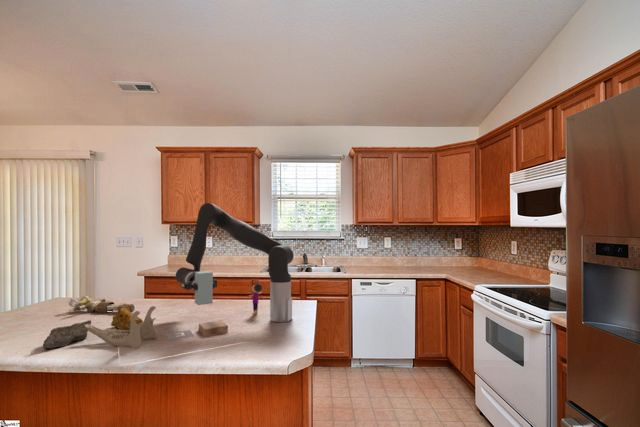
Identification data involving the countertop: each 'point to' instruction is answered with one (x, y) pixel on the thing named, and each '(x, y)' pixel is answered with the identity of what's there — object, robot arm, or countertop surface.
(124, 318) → the rock
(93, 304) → the figurine
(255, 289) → the toy
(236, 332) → the countertop surface
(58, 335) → the rock
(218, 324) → the stand
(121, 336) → the jawbone
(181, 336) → the gray tile
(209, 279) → the block
